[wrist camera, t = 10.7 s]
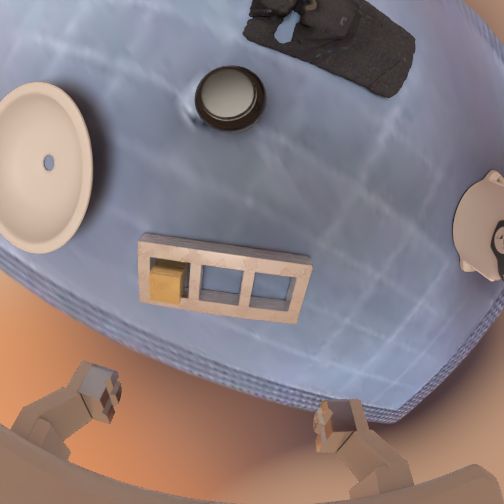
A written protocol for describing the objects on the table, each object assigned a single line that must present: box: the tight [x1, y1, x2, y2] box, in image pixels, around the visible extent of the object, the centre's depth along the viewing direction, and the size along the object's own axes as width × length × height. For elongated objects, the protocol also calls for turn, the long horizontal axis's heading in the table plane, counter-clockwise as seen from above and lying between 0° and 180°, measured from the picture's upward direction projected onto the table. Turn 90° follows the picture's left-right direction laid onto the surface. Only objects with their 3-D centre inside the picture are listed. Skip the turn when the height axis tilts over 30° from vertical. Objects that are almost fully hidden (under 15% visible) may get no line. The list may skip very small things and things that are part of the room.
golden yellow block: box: [149, 258, 189, 305], centre depth 38 cm, size 4×4×6 cm
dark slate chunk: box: [243, 0, 415, 98], centre depth 25 cm, size 15×22×5 cm
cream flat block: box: [138, 233, 313, 324], centre depth 40 cm, size 23×10×3 cm, turn 81°
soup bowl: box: [0, 82, 93, 254], centre depth 30 cm, size 24×24×7 cm
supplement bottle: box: [195, 65, 266, 133], centre depth 26 cm, size 7×7×12 cm
